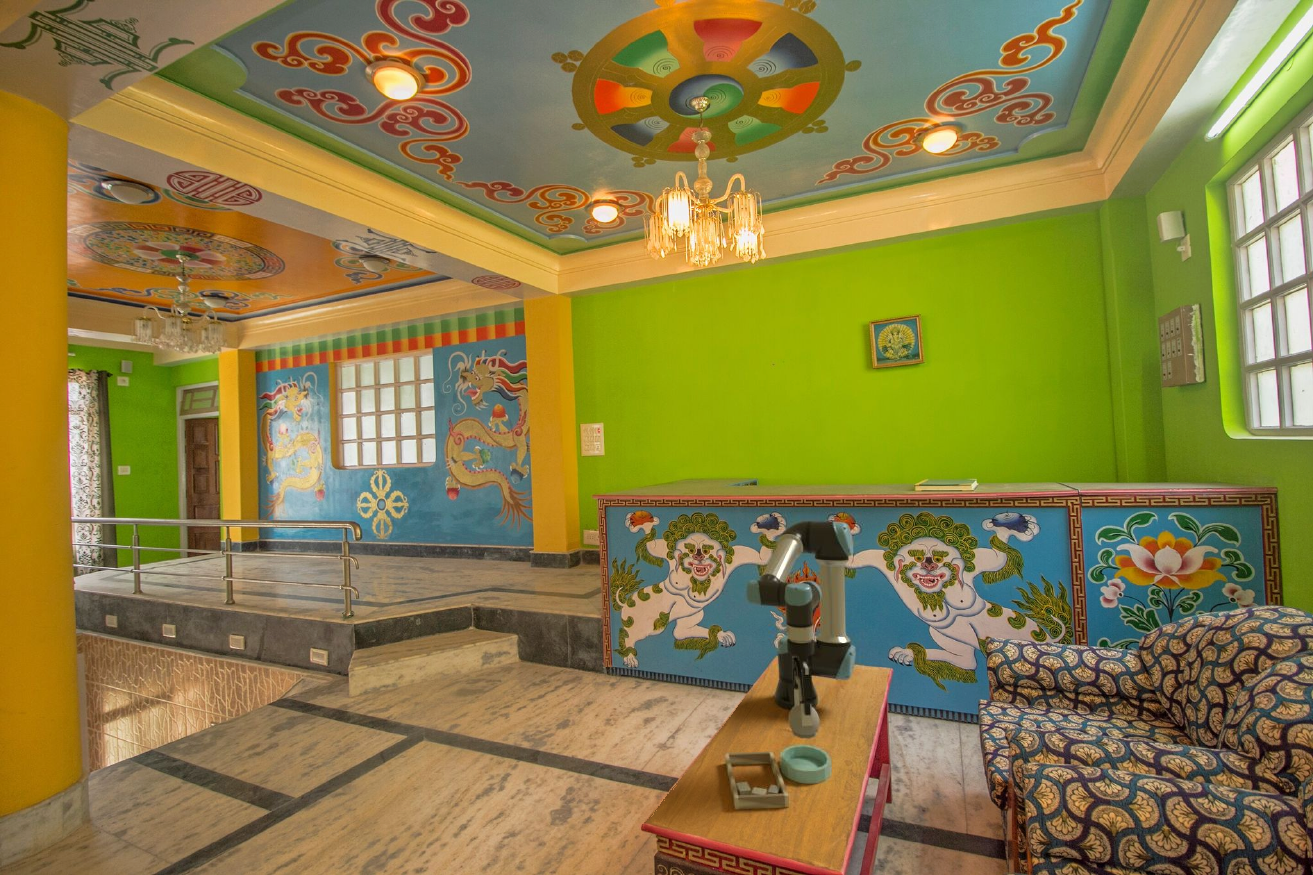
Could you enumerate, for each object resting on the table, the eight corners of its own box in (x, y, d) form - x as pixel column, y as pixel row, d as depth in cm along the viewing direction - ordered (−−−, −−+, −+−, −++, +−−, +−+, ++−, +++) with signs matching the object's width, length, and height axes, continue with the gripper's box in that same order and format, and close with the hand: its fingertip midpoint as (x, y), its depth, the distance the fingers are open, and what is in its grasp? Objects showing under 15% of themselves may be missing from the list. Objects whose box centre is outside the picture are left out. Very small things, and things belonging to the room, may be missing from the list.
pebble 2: (771, 792, 163) (770, 784, 163) (780, 794, 162) (780, 786, 162) (768, 799, 160) (768, 791, 160) (777, 801, 159) (777, 793, 159)
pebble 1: (751, 801, 160) (751, 792, 160) (754, 795, 162) (753, 786, 162) (765, 804, 158) (764, 795, 158) (767, 798, 161) (766, 789, 161)
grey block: (736, 792, 164) (736, 782, 164) (747, 790, 165) (746, 781, 165) (740, 800, 160) (740, 791, 160) (751, 799, 161) (751, 790, 161)
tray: (725, 763, 178) (725, 753, 178) (772, 761, 178) (772, 751, 178) (735, 809, 156) (734, 797, 156) (789, 807, 156) (788, 795, 156)
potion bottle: (820, 727, 176) (818, 665, 176) (818, 742, 168) (815, 677, 168) (790, 723, 179) (787, 663, 179) (786, 738, 171) (784, 674, 171)
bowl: (776, 757, 180) (776, 745, 180) (823, 755, 180) (822, 743, 180) (786, 784, 166) (786, 771, 166) (837, 782, 166) (836, 769, 166)
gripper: (779, 628, 184) (782, 702, 184) (795, 652, 163) (798, 736, 163) (804, 627, 184) (807, 701, 184) (823, 651, 163) (826, 735, 163)
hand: (803, 717), depth 173 cm, fingers closed on potion bottle, 8 cm apart
